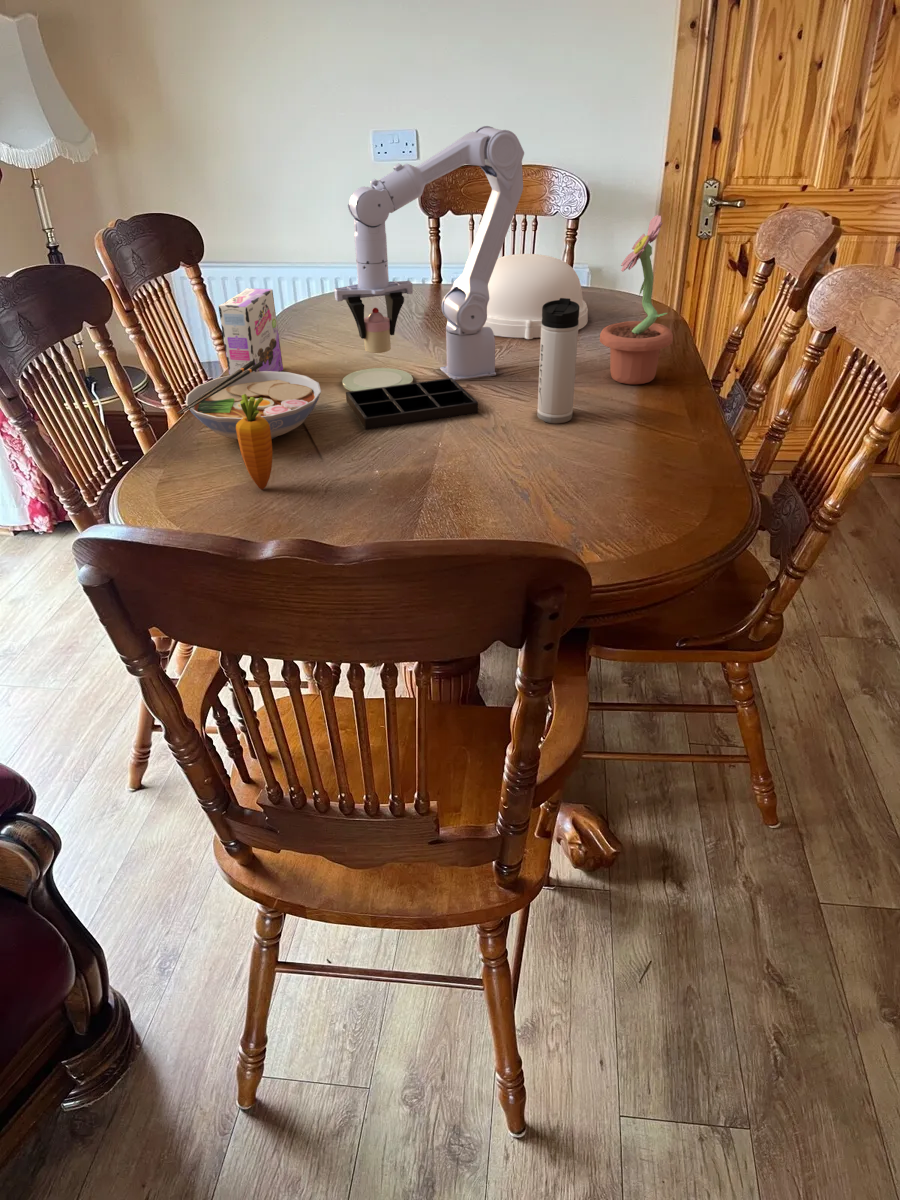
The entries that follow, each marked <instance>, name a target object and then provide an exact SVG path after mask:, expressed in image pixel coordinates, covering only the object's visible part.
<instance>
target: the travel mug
mask: <svg viewBox="0 0 900 1200" xmlns="http://www.w3.org/2000/svg"><path fill="white" fill-rule="evenodd" d="M578 318H579V305H578V304H577V303H576V302H573V301H570V299H568V298H560V299H559V300H554V301H550V302H547V303H545V304H544V305H543V307H542V323H541V326H542V327H541V337H540V341H539V342H540V345H539V364H538V365H539V368H538V386H537V387H538V389H537V412H536V416H537V418H538V419H539V420H541V421H543V422H544V423H547V424H555V425H557V424H564V423H567V422H569V421H571V420H572V419H573V414H574V413H573V412H574V410H573V409H574V399H575V397H574V396H575V383H576V369H577V368H576V367H577V355H578V341H579V330H578V326H579V323H578V322H579V320H578Z"/></svg>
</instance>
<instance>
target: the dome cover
mask: <svg viewBox="0 0 900 1200" xmlns="http://www.w3.org/2000/svg"><path fill="white" fill-rule="evenodd" d="M488 290H489V302H488V305H487V320H486V322H485V324H484V326H483V327H490V328H491V329H492V331H493V333H494V337H501V338H502V337H504V338H516V339H517V338H518V339H523V338H524V339H526V340H533V339H535V338H536V339H538V338H541V327H542V326H541V323H542V307H543V305H544V304H545V303H547V302H550V301H554V300H559V299H560V298H568V299H570V301H573V302H576V303H577V304H578V305H579V318H578V320H579V322H578V323H579V326H578V331H579V330H581V329H583V328H584V327H586V325H587V324H588V320H589V319H588V318H589V315H588V311H589V309H588V306H587V305H588V304H587V302H586V301H585V300H584V298H583V291H582V290H583V289H582V285H581V281H580V277H579V275H578V274H577V272H576V270H575V269H574V268H573V267H572V266H571V265H570V264H569V263H567V262H566V261H564V260H562V259H560V258H557V257H554V256H550V255H545V254H537V253H517V254H510V255H504V256H500V257H498V259H497V261H496V264H495V267H494V269H493V272H492V275H491V277H490V280H489V283H488Z"/></svg>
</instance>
